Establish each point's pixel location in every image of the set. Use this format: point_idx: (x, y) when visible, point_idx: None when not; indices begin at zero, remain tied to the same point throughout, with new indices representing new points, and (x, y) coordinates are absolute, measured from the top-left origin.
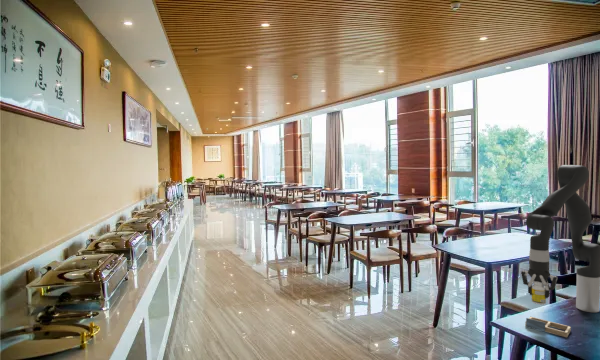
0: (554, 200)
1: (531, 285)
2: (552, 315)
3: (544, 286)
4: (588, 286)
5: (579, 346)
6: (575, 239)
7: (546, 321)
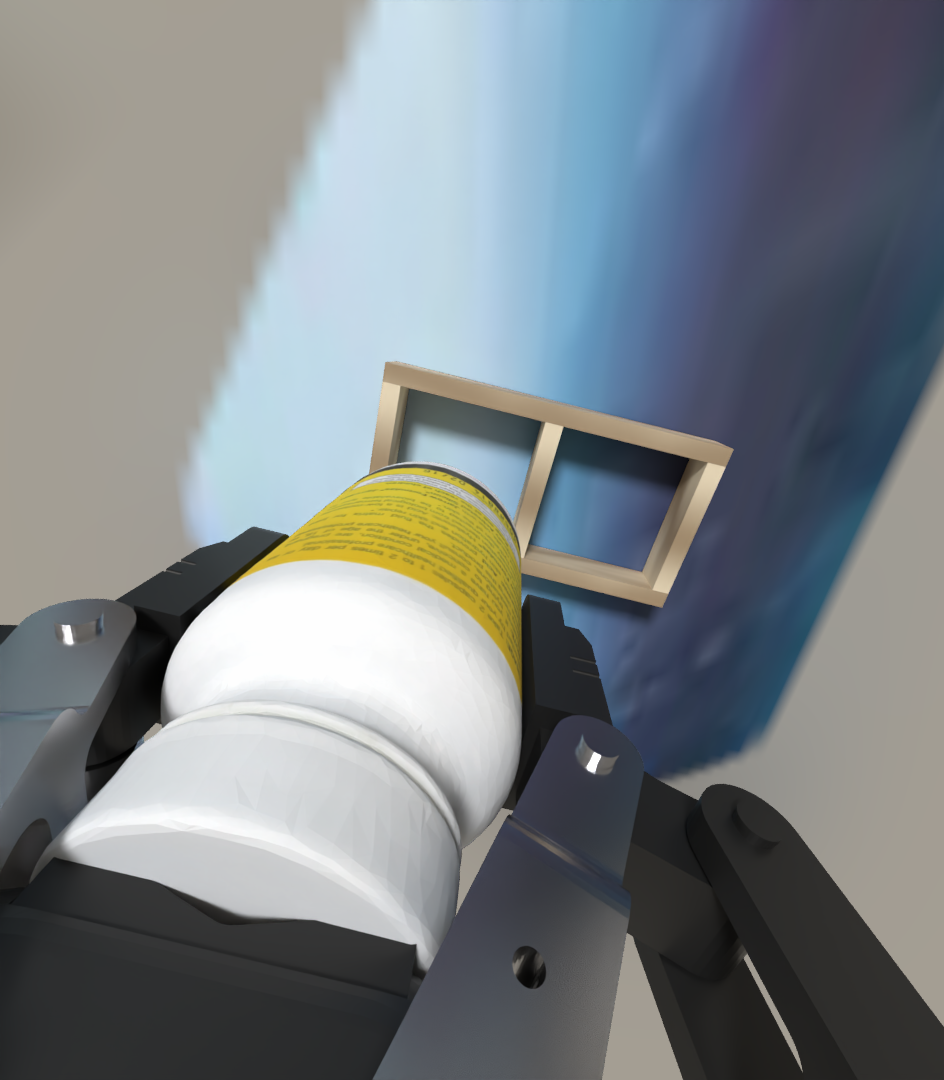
0: None
1: (140, 708)
2: (623, 3)
3: (480, 755)
4: None
5: (701, 688)
6: None
7: (529, 417)
